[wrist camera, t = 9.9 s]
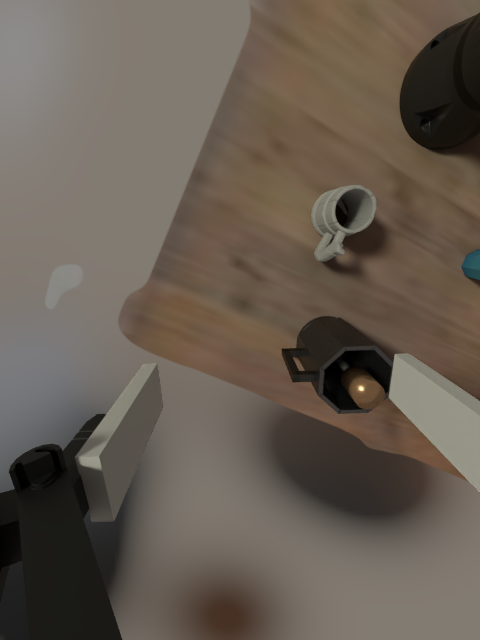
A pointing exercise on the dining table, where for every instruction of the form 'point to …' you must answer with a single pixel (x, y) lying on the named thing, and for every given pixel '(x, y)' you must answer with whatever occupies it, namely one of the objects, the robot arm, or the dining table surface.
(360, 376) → the plunger
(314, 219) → the mug
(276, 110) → the dining table surface
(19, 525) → the robot arm
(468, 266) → the cup
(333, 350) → the press body
